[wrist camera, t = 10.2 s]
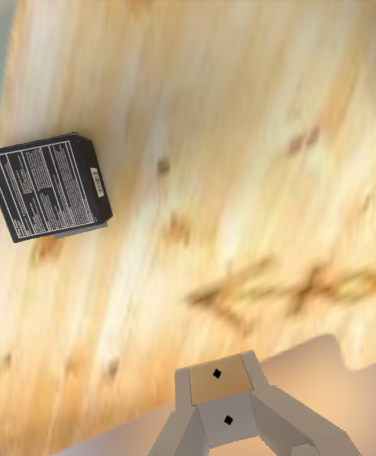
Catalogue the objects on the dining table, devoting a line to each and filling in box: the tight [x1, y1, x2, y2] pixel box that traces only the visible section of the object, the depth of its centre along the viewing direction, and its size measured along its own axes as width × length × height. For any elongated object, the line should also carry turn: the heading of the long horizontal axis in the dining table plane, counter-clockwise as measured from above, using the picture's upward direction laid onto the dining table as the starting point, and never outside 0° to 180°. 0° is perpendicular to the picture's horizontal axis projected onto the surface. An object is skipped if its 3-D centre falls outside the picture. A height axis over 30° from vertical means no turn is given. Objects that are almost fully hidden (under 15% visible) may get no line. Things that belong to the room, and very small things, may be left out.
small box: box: [0, 132, 113, 243], centre depth 30 cm, size 11×6×10 cm
